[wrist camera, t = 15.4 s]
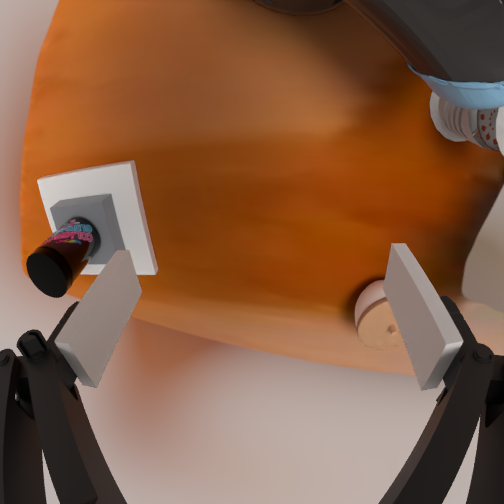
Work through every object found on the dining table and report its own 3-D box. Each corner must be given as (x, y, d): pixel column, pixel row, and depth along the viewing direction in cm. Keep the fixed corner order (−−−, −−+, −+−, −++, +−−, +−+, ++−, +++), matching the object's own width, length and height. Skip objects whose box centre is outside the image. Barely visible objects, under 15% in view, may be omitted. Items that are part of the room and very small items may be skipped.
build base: (42, 176, 41) (25, 187, 37) (134, 160, 39) (120, 169, 35) (72, 269, 50) (60, 283, 46) (158, 269, 49) (149, 286, 45)
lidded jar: (347, 321, 52) (357, 362, 44) (349, 272, 47) (362, 312, 39) (403, 312, 51) (419, 350, 43) (411, 263, 45) (433, 301, 37)
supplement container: (110, 236, 41) (74, 279, 32) (90, 262, 43) (57, 305, 34) (76, 205, 38) (34, 242, 29) (59, 234, 41) (21, 273, 32)
